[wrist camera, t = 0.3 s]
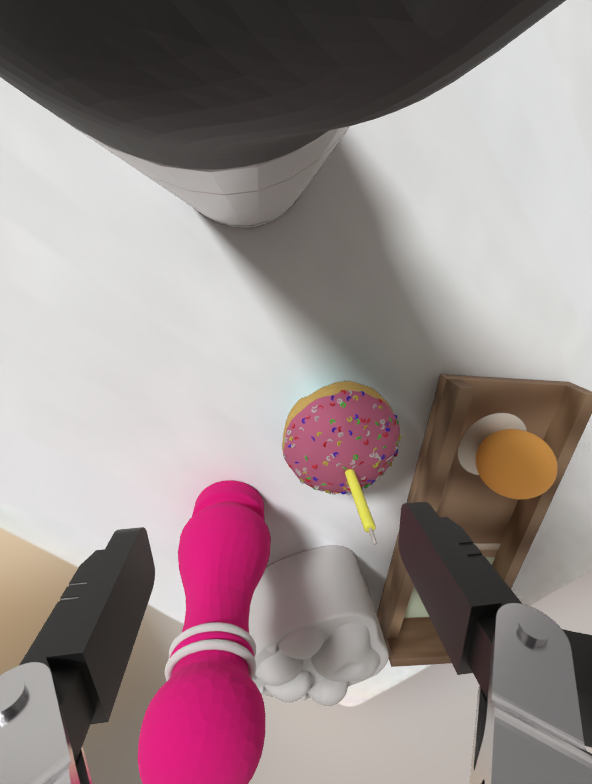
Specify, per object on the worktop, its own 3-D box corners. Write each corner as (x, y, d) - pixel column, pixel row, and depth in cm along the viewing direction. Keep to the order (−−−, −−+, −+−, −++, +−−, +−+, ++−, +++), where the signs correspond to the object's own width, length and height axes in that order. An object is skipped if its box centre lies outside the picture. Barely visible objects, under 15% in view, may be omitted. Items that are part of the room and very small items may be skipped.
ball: (472, 416, 29) (518, 451, 24) (531, 418, 30) (589, 453, 24) (455, 471, 31) (494, 514, 26) (510, 472, 32) (559, 515, 27)
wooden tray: (440, 374, 28) (475, 398, 24) (568, 381, 30) (625, 405, 25) (375, 618, 39) (391, 666, 35) (471, 614, 41) (498, 660, 36)
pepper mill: (282, 491, 31) (316, 834, 13) (248, 546, 33) (234, 908, 15) (209, 463, 29) (125, 819, 11) (177, 523, 31) (61, 906, 13)
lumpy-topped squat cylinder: (372, 599, 38) (402, 690, 30) (265, 636, 39) (266, 735, 31) (347, 535, 34) (373, 621, 26) (227, 577, 35) (217, 674, 27)
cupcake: (381, 445, 30) (451, 555, 19) (288, 465, 30) (305, 587, 19) (373, 355, 27) (452, 426, 16) (268, 376, 27) (275, 463, 16)
